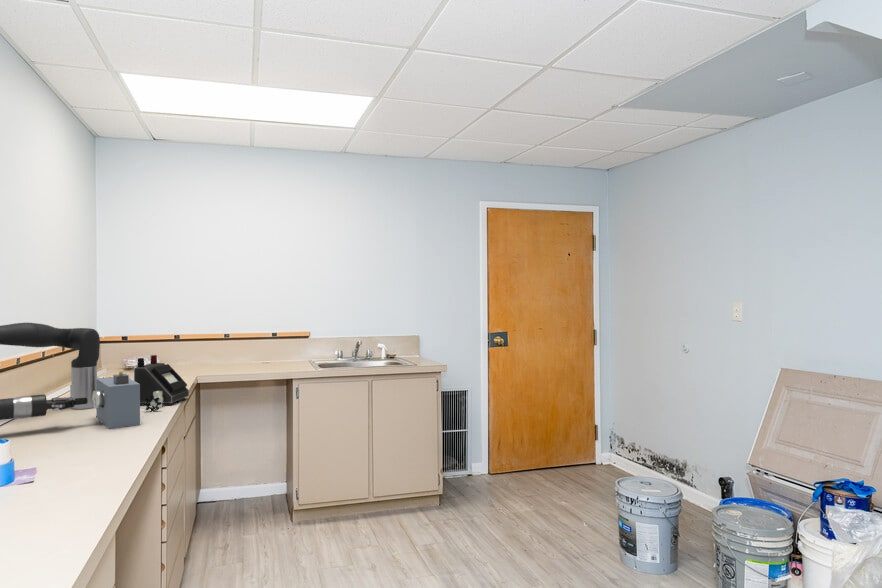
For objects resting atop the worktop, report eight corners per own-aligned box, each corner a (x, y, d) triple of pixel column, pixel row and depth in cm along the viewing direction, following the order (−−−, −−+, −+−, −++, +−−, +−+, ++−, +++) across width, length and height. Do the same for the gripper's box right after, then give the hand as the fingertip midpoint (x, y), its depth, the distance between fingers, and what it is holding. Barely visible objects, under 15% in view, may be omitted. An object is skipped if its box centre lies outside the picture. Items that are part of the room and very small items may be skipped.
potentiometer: (113, 382, 216) (113, 369, 216) (125, 381, 218) (125, 368, 218) (116, 384, 212) (116, 370, 212) (128, 383, 214) (128, 369, 214)
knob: (92, 407, 217) (92, 389, 217) (120, 403, 223) (120, 387, 223) (95, 409, 212) (95, 392, 212) (124, 406, 218) (124, 389, 218)
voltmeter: (172, 406, 248) (172, 359, 248) (134, 405, 248) (133, 359, 248) (189, 398, 264) (189, 354, 264) (153, 398, 264) (153, 354, 264)
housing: (96, 417, 226) (96, 378, 226) (125, 413, 232) (125, 376, 232) (109, 428, 207) (109, 386, 207) (140, 424, 214) (139, 383, 214)
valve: (150, 406, 247) (143, 412, 235) (150, 391, 247) (143, 396, 235) (167, 405, 249) (161, 411, 237) (167, 390, 248) (160, 395, 237)
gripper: (31, 398, 197) (90, 392, 208) (27, 393, 207) (83, 387, 218) (31, 420, 197) (90, 413, 208) (27, 414, 207) (84, 407, 218)
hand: (87, 400), depth 213 cm, fingers closed
